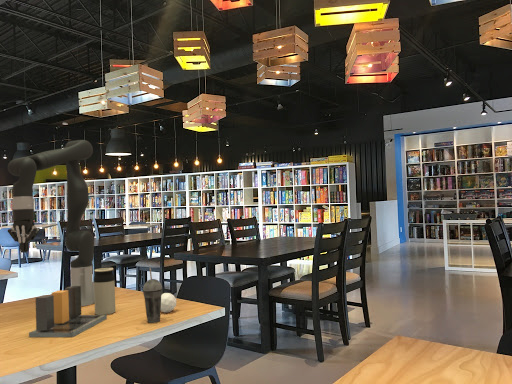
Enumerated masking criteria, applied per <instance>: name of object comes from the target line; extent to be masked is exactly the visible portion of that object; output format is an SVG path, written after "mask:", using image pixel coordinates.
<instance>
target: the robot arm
mask: <svg viewBox="0 0 512 384" xmlns="http://www.w3.org/2000/svg"><path fill="white" fill-rule="evenodd" d="M93 150H94V149H93V146H92V143H91V142H89V141H88V140H85V139H77V140H70V141H68V142H67V143H66V144H65V146H64V147H63V148H57V149H51V150H46V151H42V152H39V153H35V154H32V155H29V156H23V157H17V158H14V159H12V160H11V161H10V162H9V163H8V165H7V171H8V172H9V174H11V175H12V176H15V177H18V180H17V181H16V182H14V183H12V202H11V203H12V204H11V206H12V207H11V210H12V211H11V212H12V221H13V224H12V227H11V228H8V229H7V233H8V235H9V236H11V238H12V239H13V241H14V242H16V243H18V244H19V251H20V253H23V254H24V253H28V252H29V250H30V248H29V247H30V245H29V243H30V242H32V241H34V239H36V236H37V235H38V234H39V232H40V230H41V228H40V227H37V226H36V225H35V222H34V219H35V206H34V205H35V201H34V191H33V190H34V188H33V187H34V183H35V180H36V176H37V172H39V171H43V170H47V169H50V168H53V167H56V166H59V165H62V164H65V169H66V170H65V171H66V187H67V188H66V200H67V201H66V203H67V204H66V205H67V211H66V214H67V218H66V228H65V229H66V230H65V232H66V233H65V246H66V248H67V249H68V251H70V252H74V253H75V252H76V253H77V252H78V256H77V257H76V258H75V259H72V260H71V261H70V263H69V264H70V286H81V307H86V306H90V305H92V304H95V299H94V277H93V274H94V273H93V261H94V256H95V254H94V251H95V249H94V248H95V241H94V240H95V238H94V236H93V233H92V232H91V231H88V230H82V231H81V230H80V229H81V227H80V226H81V221H82V217H83V216H84V213H85V212H86V210H87V208H88V206H89V202H90V198H89V196H90V194H89V193H90V191H89V186H88V184H87V181H86V180H85V178H84V176H83V174H82V172H81V165H80V163H81V161H83V160H88V159H89V158H91V157H92V155H93V152H94V151H93Z"/></svg>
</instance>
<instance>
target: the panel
mask: <svg viewBox="0 0 512 384" xmlns="http://www.w3.org/2000/svg"><path fill="white" fill-rule="evenodd" d="M64 290H68V298H69V321H67V322H64V323H54V295H52V294H51V295H49V294H47V295H40V296H37V297H35V329H34V330H31V331H30V332H28V337H29V338H74V337H75V336H77V335H79V334H82V333H83V332H85V331H87V330H89V329H91V328H93V327H94V326H96V325H98V324H100V323H102V322H103V321H106V320H107V319H108V316H107V315H96V314H82V306H81V286H71V285H70V286H68V287H65V288H64Z"/></svg>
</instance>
